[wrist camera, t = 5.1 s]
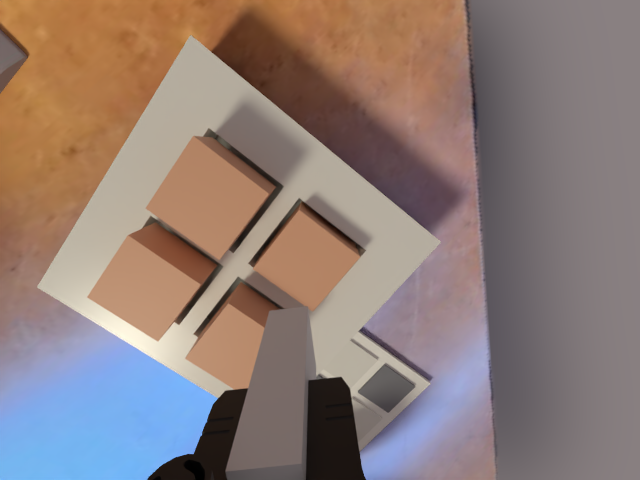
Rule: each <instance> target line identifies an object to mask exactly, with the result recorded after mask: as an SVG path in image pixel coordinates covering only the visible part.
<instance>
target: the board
mask: <svg viewBox="0 0 640 480" xmlns="http://www.w3.org/2000/svg"><path fill="white" fill-rule="evenodd" d="M193 136H202V137H213V138H214V139H215V140H217V141H218V142H219V143H220V144H222V145H223V146H224V147H226V148H227V149H228V150H229V151H231V152H232V153H233V154H235V155H236V156H237V157H239V158H240V159H241V160H242V161H244V162H245V163H246V164H248V165H249V166H250V167H251V168H253V169H254V170H255V171H257V172H258V173H259V174H261V175H262V176H263V177H264V178H266V179H267V180H268V181H270V182H271V183H272V184H273V185H275V186H276V188H275V189H274V191H273V192H272V193H271V195H270V196H269V197H268V199H267V200H266V201H265V203H264V204H263V205H262V207H261V208H260V209H259V211H258V212H257V213H256V215H255V216H254V217H253V219H252V220H251V221H250V223H249V224H248V225H247V227H246V228H245V229H244V231H243V232H242V233H241V235H240V236H239V237H238V239H237V240H236V241H235V243H234V244H233V245H232V246H231V247H230V248H229V250H228V251H227V252H226V253H225V254H224V255H223V256H222V258H221V259H220V260H218V259H217V258H215V257H214V256H213V255H211V254H210V253H208V252H207V251H205V250H204V249H203V248H201V247H200V246H198V245H197V244H195V243H194V242H193V241H191V240H190V239H188V238H187V237H185V236H184V235H183V234H181V233H180V232H178V231H177V230H175V229H174V228H173V227H171V226H170V225H168V224H167V223H165V222H164V221H163V220H161V219H160V218H158V217H157V216H155V215H154V214H153V213H151V212H150V211H148V210H147V209H145V208H146V207H147V205H148V204H149V202H150V200H151V199H152V197H153V196H154V194H155V193H156V191H157V190H158V188H159V187H160V185H161V184H162V182H163V181H164V179H165V178H166V176H167V175H168V173H169V172H170V170H171V169H172V167H173V165H174V164H175V162H176V161H177V159H178V158H179V156H180V155H181V153H182V152H183V150H184V149H185V147H186V146H187V144H188V143H189V141H190V140H191V138H192V137H193ZM301 202H303V203H305V204H306V205H307V206H309V207H310V208H311V209H312V210H314V211H315V212H316V213H318V214H319V215H320V216H321V217H323V218H324V219H325V220H327V221H328V222H329V223H330V224H332V225H333V226H334V227H336V228H337V229H338V230H339V231H341V232H342V233H343V234H345V235H346V236H347V237H348V238H350V239H351V240H352V241H354V242H355V244H356V247H357V250H358V252H359V255H360V258H359V259H358V260H357V262H356V263H355V264H354V265H353V266H352V267H351V268H350V270H349V271H348V272H347V273H346V274H345V275H344V277H343V278H342V279H341V280H340V281H339V282H338V283H337V285H336V286H335V287H334V288H333V289H332V290H331V291H330V293H329V294H328V295H327V296H326V297H325V298H324V300H323V301H322V302H321V303H320V304H319V305H318V306H317V308H316V309H315V310H314V311H311V310H310V309H308V311H309V318H310V325H311V332H312V340H313V347H314V354H315V361H316V377H317V376H318V374H319V373H320V372H321V371H322V370H323V369H324V368H325V367H326V366H327V365H328V364H329V363H330V361H331V360H332V359H333V358H334V357H335V356H336V355H337V354H338V353H339V352H340V351H341V350H342V349H343V347H344V346H345V345H346V344H347V343H348V342H349V341H350V340H351V339H352V338H353V337H354V336H355V334H356V333H357V332H358V331H359V330H360V329H361V328H362V327H363V326H364V325H365V324H366V323H367V322H368V320H369V319H370V318H371V317H372V316H373V315H374V314H375V313H376V312H377V311H378V310H379V309H380V307H381V306H382V305H383V304H384V303H385V302H386V301H387V300H388V299H389V298H390V297H391V296H392V295H393V293H394V292H395V291H396V290H397V289H398V288H399V287H400V286H401V285H402V284H403V283H404V282H405V280H406V279H407V278H408V277H409V276H410V275H411V274H412V273H413V272H414V271H415V270H416V269H417V268H418V266H419V265H420V264H421V263H422V262H423V261H424V260H425V259H426V258H427V257H428V256H429V255H430V253H431V252H432V251H433V250H434V249H435V248H436V247H437V246H438V245H439V244H440V243H441V242H440V241H439V240H438V239H437V238H436V237H434V236H433V235H432V234H431V233H429V232H428V231H427V230H426V229H425V228H423V227H422V226H421V225H420V224H419V223H417V222H416V221H415V220H414V219H413V218H411V217H410V216H409V215H408V214H407V213H405V212H404V211H403V210H402V209H400V208H399V207H398V206H397V205H396V204H394V203H393V202H392V201H391V200H390V199H388V198H387V197H386V196H385V195H384V194H382V193H381V192H380V191H379V190H377V189H376V188H375V187H374V186H373V185H371V184H370V183H369V182H368V181H367V180H365V179H364V178H363V177H362V176H361V175H359V174H358V173H357V172H356V171H354V170H353V169H352V168H351V167H350V166H348V165H347V164H346V163H345V162H344V161H342V160H341V159H340V158H339V157H338V156H336V155H335V154H334V153H333V152H332V151H330V150H329V149H328V148H327V147H325V146H324V145H323V144H322V143H321V142H319V141H318V140H317V139H316V138H315V137H313V136H312V135H311V134H310V133H309V132H307V131H306V130H305V129H304V128H302V127H301V126H300V125H299V124H298V123H296V122H295V121H294V120H293V119H292V118H290V117H289V116H288V115H287V114H286V113H284V112H283V111H282V110H281V109H279V108H278V107H277V106H276V105H275V104H273V103H272V102H271V101H270V100H269V99H267V98H266V97H265V96H264V95H263V94H261V93H260V92H259V91H258V90H257V89H255V88H254V87H253V86H252V85H250V84H249V83H248V82H247V81H246V80H244V79H243V78H242V77H241V76H240V75H238V74H237V73H236V72H235V71H234V70H232V69H231V68H230V67H229V66H227V65H226V64H225V63H224V62H223V61H221V60H220V59H219V58H218V57H217V56H215V55H214V54H213V53H212V52H211V51H209V50H208V49H207V48H206V47H204V46H203V45H202V44H201V43H200V42H198V41H197V40H196V39H195V38H194V37H192V36H191V35H190V37H189V38H188V40H187V42H186V43H185V45H184V47H183V48H182V50H181V51H180V53H179V55H178V56H177V58H176V60H175V61H174V63H173V65H172V66H171V68H170V70H169V71H168V73H167V74H166V76H165V78H164V79H163V81H162V83H161V84H160V86H159V88H158V89H157V91H156V93H155V94H154V96H153V98H152V99H151V101H150V102H149V104H148V106H147V107H146V109H145V111H144V112H143V114H142V116H141V117H140V119H139V121H138V122H137V124H136V125H135V127H134V129H133V130H132V132H131V134H130V135H129V137H128V139H127V140H126V142H125V144H124V145H123V147H122V148H121V150H120V152H119V153H118V155H117V157H116V158H115V160H114V162H113V163H112V165H111V167H110V168H109V170H108V172H107V173H106V175H105V176H104V178H103V180H102V181H101V183H100V185H99V186H98V188H97V190H96V191H95V193H94V195H93V196H92V198H91V199H90V201H89V203H88V204H87V206H86V208H85V209H84V211H83V213H82V214H81V216H80V218H79V219H78V221H77V223H76V224H75V226H74V227H73V229H72V231H71V232H70V234H69V236H68V237H67V239H66V241H65V242H64V244H63V246H62V247H61V249H60V250H59V252H58V254H57V255H56V257H55V259H54V260H53V262H52V264H51V265H50V267H49V269H48V270H47V272H46V274H45V275H44V277H43V278H42V280H41V282H40V283H39V285H38V288H39V289H41V290H42V291H44V292H46V293H47V294H49V295H51V296H52V297H54V298H56V299H57V300H59V301H60V302H62V303H64V304H65V305H67V306H69V307H70V308H72V309H73V310H75V311H77V312H78V313H80V314H82V315H83V316H85V317H87V318H88V319H90V320H91V321H93V322H95V323H96V324H98V325H100V326H101V327H103V328H104V329H106V330H108V331H109V332H111V333H113V334H114V335H116V336H118V337H119V338H121V339H122V340H124V341H126V342H127V343H129V344H131V345H132V346H134V347H135V348H137V349H139V350H140V351H142V352H144V353H145V354H147V355H149V356H150V357H152V358H153V359H155V360H157V361H158V362H160V363H162V364H163V365H165V366H166V367H168V368H170V369H171V370H173V371H175V372H176V373H178V374H180V375H181V376H183V377H184V378H186V379H188V380H189V381H191V382H193V383H194V384H196V385H197V386H199V387H201V388H202V389H204V390H206V391H207V392H209V393H211V394H212V395H214V396H215V397H217V398H219V397H220V396H221V395H222V394H223V393H224V391H226V390H234V389H233V388H231V387H230V386H228V385H226V384H225V383H223V382H222V381H220V380H218V379H217V378H215V377H214V376H212V375H210V374H209V373H207V372H206V371H204V370H202V369H201V368H199V367H198V366H196V365H194V364H193V363H191V362H190V361H188V360H186V359H185V358H186V356H187V354H188V353H189V351H190V350H191V348H192V347H193V345H194V343H195V342H196V340H197V339H198V337H199V335H200V334H201V332H202V331H203V329H204V328H205V327H206V325H207V324H208V323H209V322H210V320H211V319H212V318H213V317H214V315H215V314H216V313H217V311H218V310H219V309H220V308H221V306H222V305H223V304H224V302H225V301H226V300H227V299H228V297H229V296H230V295H231V294H232V292H233V291H234V290H235V288H236V287H237V286H238V285H239V283H240V282H242V283H244V284H245V285H246V286H248V287H249V288H251V289H252V290H254V291H255V292H257V293H258V294H259V295H261V296H262V297H264V298H265V299H267V300H268V301H269V302H271V303H272V304H274V305H275V306H277V307H278V308H280V309H289V308H298V307H305V306H304V305H303V304H301V303H300V302H298V301H297V300H296V299H294V298H293V297H291V296H290V295H289V294H287V293H286V292H284V291H283V290H281V289H280V288H279V287H277V286H276V285H274V284H273V283H272V282H270V281H269V280H267V279H266V278H265V277H263V276H262V275H260V274H259V273H258V272H256V271H255V270H253V268H254V266H255V264H256V262H257V260H258V258H259V256H260V255H261V253H262V251H263V250H264V249H265V248H266V246H267V245H268V244H269V243H270V241H271V240H272V239H273V237H274V236H275V235H276V234H277V232H278V231H279V230H280V228H281V227H282V226H283V225H284V223H285V222H286V221H287V219H288V218H289V217H290V216H291V214H292V213H293V212H294V211H295V209H296V208H297V207H298V205H299V204H300V203H301ZM155 222H156V223H157V224H159V225H160V226H162V227H163V228H165V229H166V230H167V231H169V232H170V233H172V234H173V235H175V236H176V237H178V238H179V239H180V240H182V241H183V242H185V243H186V244H188V245H189V246H190V247H192V248H193V249H195V250H196V251H198V252H199V253H200V254H202V255H203V256H205V257H206V258H208V259H209V260H211V261H212V262H213V263H215V264H216V265H217V266H216V268H215V269H214V270H213V272H212V273H211V274H210V276H209V277H208V278H207V280H206V281H205V282H204V284H203V285H202V286H201V288H200V289H199V290H198V292H197V293H196V294H195V296H194V297H193V298H192V300H191V301H190V302H189V304H188V305H187V306H186V308H185V309H184V310H183V312H182V313H181V314H180V316H179V317H178V318H177V319H176V321H175V322H174V323H173V324H172V325H171V327H170V328H169V329H168V330H167V332H166V333H165V334H164V335H163V336H162V338H161V339H160V340H159V341H156V340H154V339H153V338H151V337H150V336H148V335H146V334H145V333H143V332H142V331H140V330H138V329H137V328H135V327H134V326H132V325H130V324H129V323H127V322H126V321H124V320H122V319H121V318H119V317H118V316H116V315H114V314H113V313H111V312H110V311H108V310H106V309H105V308H103V307H102V306H100V305H98V304H97V303H95V302H94V301H92V300H90V299H89V298H87V296H88V295H89V293H90V292H91V290H92V289H93V287H94V286H95V284H96V283H97V281H98V280H99V278H100V277H101V275H102V273H103V272H104V270H105V269H106V267H107V266H108V264H109V263H110V261H111V260H112V258H113V257H114V255H115V254H116V252H117V251H118V249H119V248H120V246H121V245H122V243H123V242H124V240H125V239H126V237H127V235H129V234H131V233H133V232H136V231H138V230H140V229H142V228H144V227H146V226H149V225H151V224H153V223H155Z"/></svg>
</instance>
